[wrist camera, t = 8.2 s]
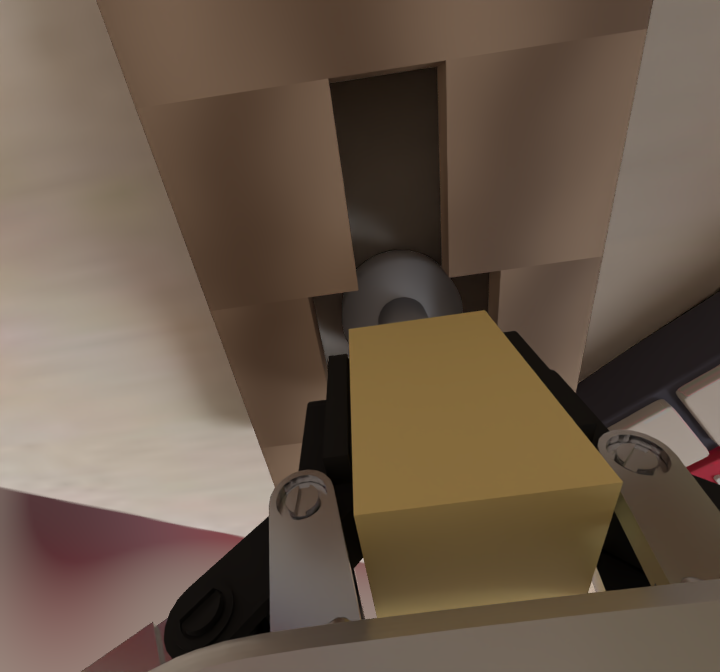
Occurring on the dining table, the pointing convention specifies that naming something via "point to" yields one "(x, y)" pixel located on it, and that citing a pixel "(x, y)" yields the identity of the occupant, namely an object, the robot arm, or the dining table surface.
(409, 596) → the peg
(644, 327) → the dining table surface
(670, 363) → the calculator
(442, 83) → the keyhole board
